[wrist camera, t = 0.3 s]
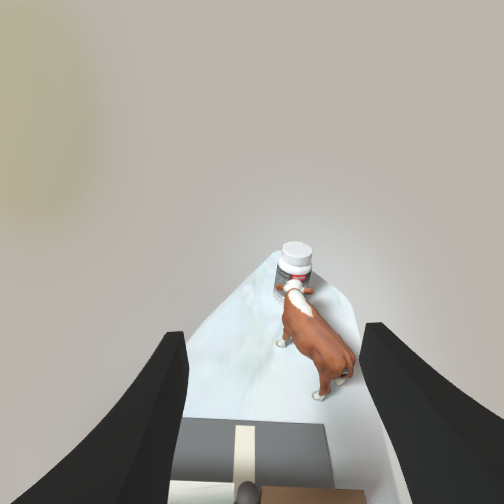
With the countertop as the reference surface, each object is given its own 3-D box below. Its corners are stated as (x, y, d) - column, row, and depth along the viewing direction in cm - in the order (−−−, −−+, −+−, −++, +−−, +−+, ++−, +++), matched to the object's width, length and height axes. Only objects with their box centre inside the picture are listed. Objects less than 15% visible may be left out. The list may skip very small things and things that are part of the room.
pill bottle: (288, 312, 44) (297, 262, 40) (266, 293, 47) (272, 245, 43) (311, 300, 47) (322, 252, 42) (289, 283, 50) (297, 236, 45)
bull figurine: (291, 316, 44) (301, 267, 39) (351, 403, 33) (372, 351, 29) (262, 322, 42) (269, 273, 38) (315, 416, 32) (332, 363, 27)
